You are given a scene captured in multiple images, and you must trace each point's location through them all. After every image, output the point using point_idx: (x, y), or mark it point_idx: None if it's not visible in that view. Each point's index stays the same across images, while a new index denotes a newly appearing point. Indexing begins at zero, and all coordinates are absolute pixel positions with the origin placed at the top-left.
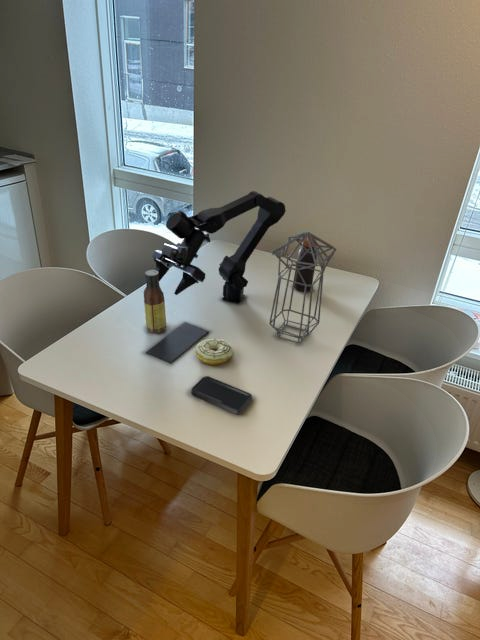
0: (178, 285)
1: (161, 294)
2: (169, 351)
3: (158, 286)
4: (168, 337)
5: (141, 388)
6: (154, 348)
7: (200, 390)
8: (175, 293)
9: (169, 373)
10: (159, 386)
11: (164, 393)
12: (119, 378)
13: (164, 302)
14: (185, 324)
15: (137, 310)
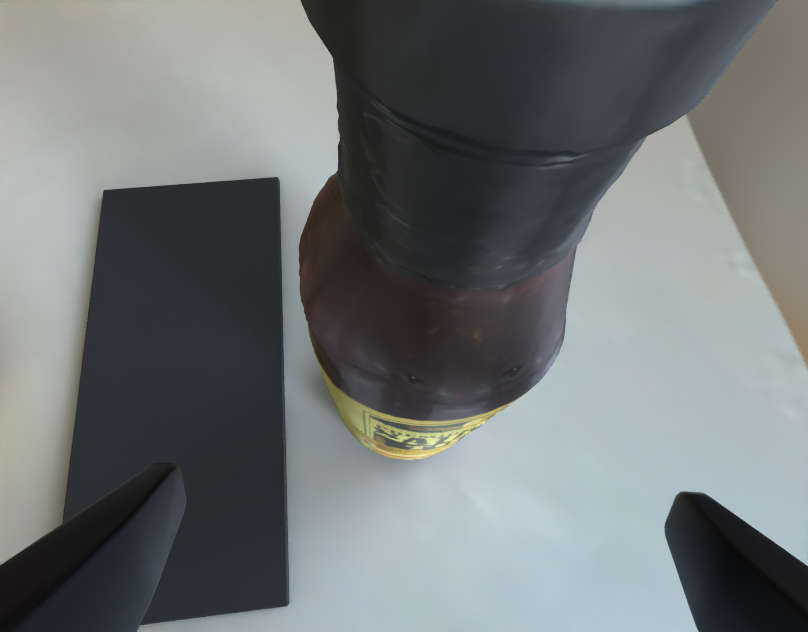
0: (45, 589)
1: (309, 284)
2: (166, 254)
3: (347, 206)
4: (261, 355)
5: (127, 16)
6: (258, 223)
7: None
8: (149, 468)
9: (70, 140)
10: (63, 60)
11: (18, 43)
12: (251, 9)
13: (330, 383)
14: (264, 577)
15: (691, 482)
